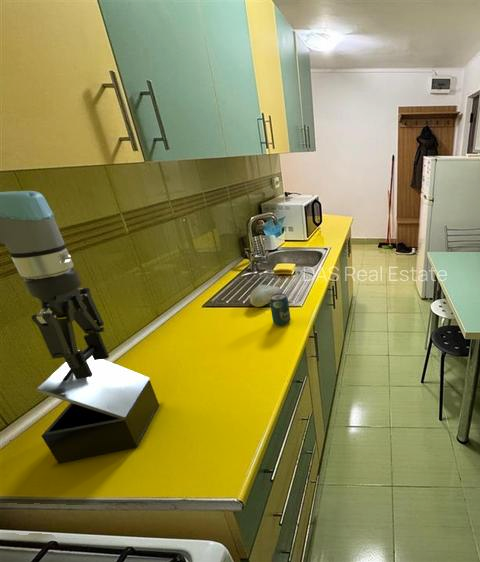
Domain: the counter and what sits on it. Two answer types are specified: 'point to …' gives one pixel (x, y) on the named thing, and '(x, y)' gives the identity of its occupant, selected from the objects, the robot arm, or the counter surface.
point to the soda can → (280, 309)
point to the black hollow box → (99, 429)
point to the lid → (97, 386)
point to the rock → (263, 295)
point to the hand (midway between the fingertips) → (93, 367)
